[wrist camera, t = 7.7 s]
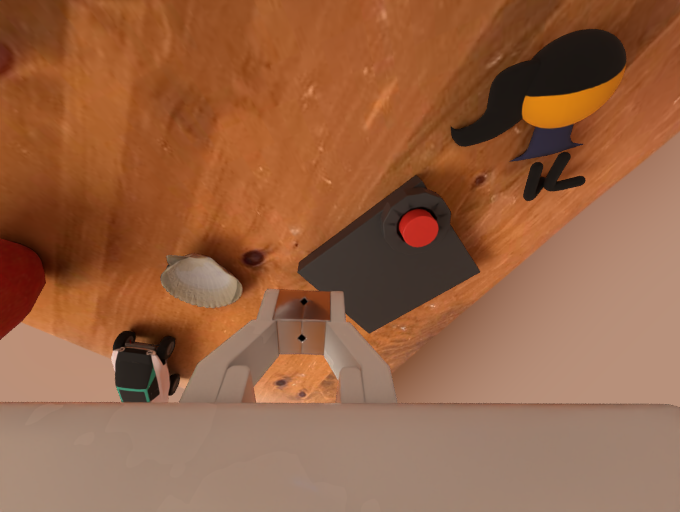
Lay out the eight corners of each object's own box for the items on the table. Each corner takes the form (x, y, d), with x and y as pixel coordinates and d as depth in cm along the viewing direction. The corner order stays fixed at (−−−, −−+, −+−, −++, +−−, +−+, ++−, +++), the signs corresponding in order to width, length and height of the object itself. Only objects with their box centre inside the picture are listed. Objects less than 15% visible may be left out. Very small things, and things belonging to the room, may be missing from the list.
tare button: (422, 201, 22) (428, 208, 20) (438, 225, 23) (444, 234, 22) (392, 222, 23) (396, 230, 21) (409, 244, 24) (414, 253, 23)
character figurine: (567, 155, 25) (616, -3, 16) (592, 195, 22) (669, 28, 13) (454, 182, 29) (442, 68, 20) (461, 219, 26) (451, 105, 17)
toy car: (139, 377, 39) (115, 415, 35) (125, 325, 33) (93, 363, 28) (181, 382, 40) (162, 419, 36) (175, 332, 34) (151, 369, 29)
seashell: (189, 286, 32) (249, 302, 31) (172, 305, 30) (236, 323, 29) (168, 234, 26) (240, 253, 26) (145, 253, 24) (223, 274, 23)
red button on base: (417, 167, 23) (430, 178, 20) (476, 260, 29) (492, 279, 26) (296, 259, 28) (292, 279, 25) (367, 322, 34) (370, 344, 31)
